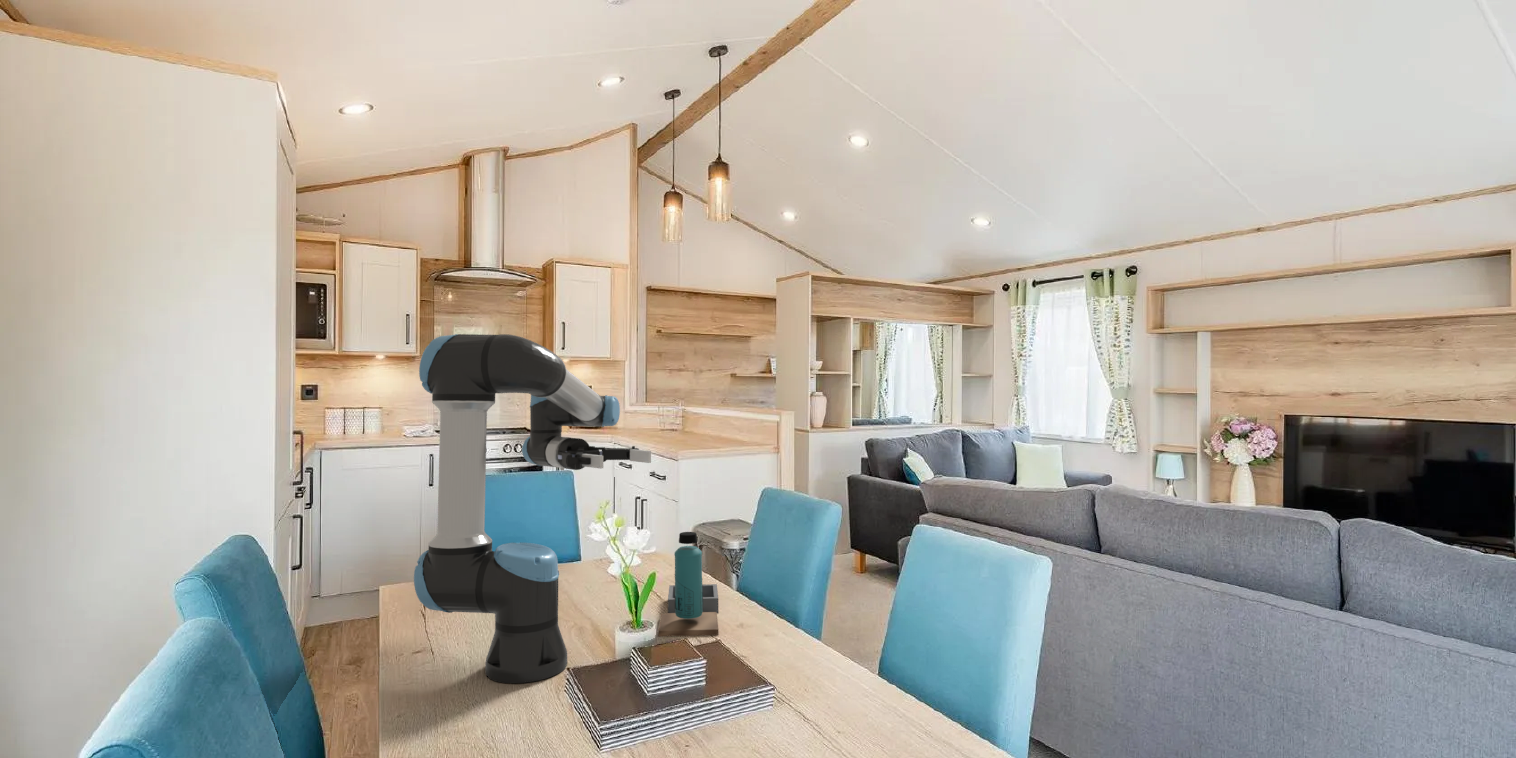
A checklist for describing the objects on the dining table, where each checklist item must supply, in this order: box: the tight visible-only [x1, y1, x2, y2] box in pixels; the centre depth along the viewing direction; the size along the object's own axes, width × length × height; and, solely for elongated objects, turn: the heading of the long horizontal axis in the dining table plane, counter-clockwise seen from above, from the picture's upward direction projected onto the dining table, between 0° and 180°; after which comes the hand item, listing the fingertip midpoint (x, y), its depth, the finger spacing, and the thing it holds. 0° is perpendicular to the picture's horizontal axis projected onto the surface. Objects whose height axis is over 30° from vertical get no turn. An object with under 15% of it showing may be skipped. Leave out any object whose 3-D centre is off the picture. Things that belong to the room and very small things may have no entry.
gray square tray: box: [667, 583, 719, 614], centre depth 180 cm, size 12×12×4 cm
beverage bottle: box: [673, 531, 703, 619], centre depth 165 cm, size 6×7×20 cm
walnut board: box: [657, 612, 719, 638], centre depth 165 cm, size 13×12×1 cm
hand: (626, 459), depth 162 cm, fingers open, 13 cm apart
